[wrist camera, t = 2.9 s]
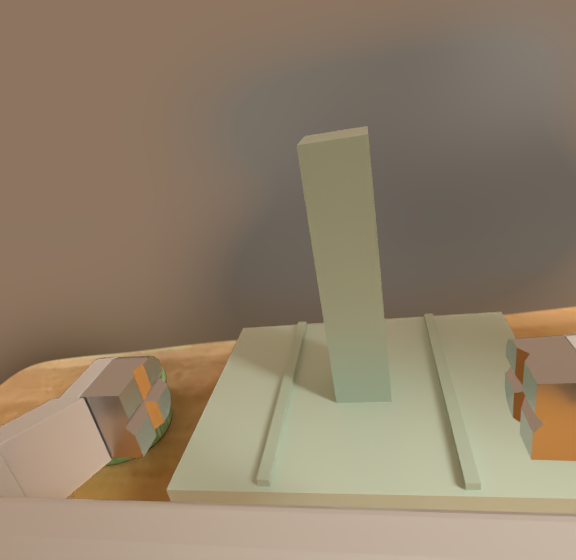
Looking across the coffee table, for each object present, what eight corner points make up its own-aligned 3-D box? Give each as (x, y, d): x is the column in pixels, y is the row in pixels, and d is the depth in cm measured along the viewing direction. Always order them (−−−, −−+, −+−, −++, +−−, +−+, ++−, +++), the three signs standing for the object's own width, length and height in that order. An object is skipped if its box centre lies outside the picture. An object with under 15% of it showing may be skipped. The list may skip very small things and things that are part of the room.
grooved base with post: (500, 324, 30) (509, 91, 24) (604, 517, 17) (681, 115, 11) (245, 338, 34) (197, 143, 28) (171, 504, 21) (51, 204, 15)
